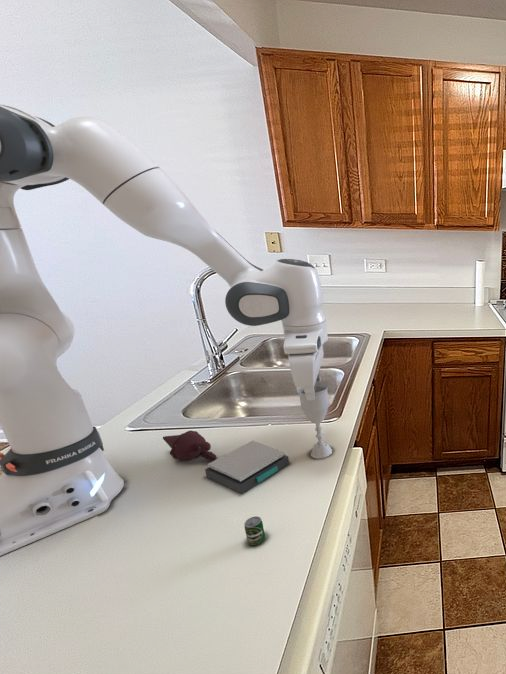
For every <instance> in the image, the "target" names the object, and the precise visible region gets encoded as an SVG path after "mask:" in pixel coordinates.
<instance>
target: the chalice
mask: <svg viewBox="0 0 506 674" xmlns="http://www.w3.org/2000/svg"><path fill="white" fill-rule="evenodd" d="M295 388H296V387H295ZM329 388H330V383H329V382H327V381H322V380H320V381H316V382H315V386H314V390H315V394H316V397H315V400H310V401H308V400H307V399H306V394H305V392H304V390H303V389H297V388H296V390H295V391H296V392H297V394H298V395H299V401H300V409H301V410H302V412H303V414H304V415H305V417H306V418H307V419H308V420H309V422H310V423H311V424H314V425H315V429H314V431H315V432H316V435H315V438H316V439H317V442H315V444H314V445H313V446H312V449H311V453H310V456H311V458H313V459H316V460H317V459H324V458H327V457H329V456H330V455H332V453H333V449H332V448H331V446H330V445H329V443H327V442H326V441H323V437H324V434H323V433H322V430H323V427H322V426H321V423H322V422H324V420H325V418H326V415H327V413H328V410H329V407H330V406H329V405H330V401H329V393H328V392H329V391H328V389H329Z"/></svg>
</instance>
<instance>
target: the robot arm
mask: <svg viewBox="0 0 506 674" xmlns="http://www.w3.org/2000/svg"><path fill="white" fill-rule="evenodd" d="M69 180H71V181H73V182H75V183H76V184H78V185H80V186H81V187H82V188H84V189H85V190H86V191H87V192H88V193H90V194H91V196H93V197H94V198H95V199H96V200H97V201H98V202H100V203H101V204H102V205H103V207H105V208H106V209H108V210H109V211H110V212H111V213H112V214H113V215H114V216H116V217H117V218H118V219H119V220H121V221H122V222H123V223H125V224H126V225H128V226H129V227H131V228H132V229H134V230H135V231H137V232H139V233H140V234H142V235H143V236H145V237H148V238H152V239H156V240H159V241H163V242H167V243H170V244H173V245H176V246H179V247H181V248H183V249H185V250H187V251H189V252H190V253H192V254H193V255H195V257H197V258H198V259H200V260H201V261H202V262H203V263H204V264H206V266H208V267H209V268H210V269H211V270H213V271H214V272H215V273H216V274H217V275H218V276H219V277H220V278H222V279H223V280H224V281H225V282H226V283H227V285H228V286H229V289H228V291H227V293H226V295H225V300H224V302H225V303H224V304H225V307H226V311H227V312H228V314H229V315H230V316H231V318H232V319H234V320H235V321H236V322H238V323H240V324H242V325H245V326H249V327H257V326H263V325H269V324H271V323H272V324H273V323H275V322H279V321H281V324H282V331H283V353H284V355H288V364H289V369H290V373H291V377H292V381H293V384H294V386H295V388H297V389H303V390H304V392H305V394H306V399H307V400H308V401H310V400H315V397H316V394H315V390H314V386H315V382H316V381H322V378H321V367H322V363H323V359H324V355H325V354H324V353H325V352H324V344H325V343H327V341H328V340H329V337H328V328H327V327H328V326H327V319H326V316H325V313H324V310H323V305H324V304H323V303H324V295H323V290H322V283H321V279H320V275H319V272H318V269H317V268H316V267H315V266H314V265H313V264H312V263H310V262H308V261H304V260H301V259H294V258H280V259H277V260H276V261H275V262H274V263H273V264H271V265H269V266H268V267H266V268H265V269H263V268H261V267H259V266H257V265H254V264H252V263H251V262H250V261H249V260H248V259H246V258H245V257H244V256H243V255H242V254H241V253H240V252H239V251H237V249H235V248H234V247H233V246H232V245H231V244H230V243H229V242H228V241H227V240H226V239H225V238H223V236H221V235H220V233H218V232H217V231H216V230H215V229H214V228H213V227H212V226H211V224H210V223H209V222H208V220H206V218H205V217H204V216H203V215H202V214H201V212H200V211H199V210H198V209H197V208H196V206H194V204H193V203H192V201H191V200H190V199H189V198H188V196H187V195H186V194H185V193H184V192H183V190H182V189H181V188H180V187H179V186H178V185H177V184H176V183H175V181H174V180H173V179H172V178H171V177H170V176H169V175H168V174H167V173H166V172H165V170H163V169H162V168H161V167H160V166H159V165H158V164H157V163H156V162H155V161H154V160H153V159H152V158H151V157H150V156H148V154H146V153H145V152H144V151H143V150H142V149H140V148H139V146H137V145H136V144H134V143H133V142H132V140H130V139H129V138H128V137H126V136H125V135H124V134H122V133H121V132H119V131H118V130H117V129H115V128H114V127H113V126H111V124H109V123H107V122H106V121H104V120H101V119H99V118H96V117H92V116H77V117H71V118H69V119H67V120H65V121H63V122H61V123H60V124H57V125H54V124H52V123H51V122H49V121H48V120H46V119H43V118H41V117H39V116H35V115H33V114H31V113H29V112H26V111H23V110H22V109H19V108H16V107H13V106H9V105H5V104H0V428H1V430H2V432H3V435H4V436H5V439H6V441H7V443H8V445H9V447H10V449H9V450H8V451H7V452H6V453H5V454H4V453H3V452H0V469H1V471H2V473H1V474H0V557H1V556H3V555H6V554H9V553H10V552H12V551H15V550H18V549H20V548H23V547H24V546H25V547H26V546H27V545H29V544H32V543H34V542H36V541H39V540H41V539H44V538H46V537H48V536H51V535H53V534H55V533H58V532H61V531H62V530H65V529H67V528H70V527H72V526H74V525H77V524H80V523H82V522H84V521H86V520H88V519H90V518H93V517H96V516H98V515H100V514H103V513H105V512H106V511H107V510H108V509H109V507H110V505H111V503H112V501H113V500H114V499H115V498H116V497H117V496H118V495H119V494H120V492H122V490H123V489H124V487H125V480H124V479H123V478H122V477H121V476H120V475H119V474H118V473H117V471H116V470H115V469H114V468H113V466H112V464H111V463H110V461H109V460H108V458H107V456H106V454H105V452H104V451H105V448H104V443H103V440H102V437H101V434H100V432H99V431H98V429H97V427H96V426H93V423H92V421H91V418H90V416H89V412H88V410H87V407H86V405H85V402H84V398H83V396H82V393H80V392H79V391H78V390H77V389H74V388H72V387H71V385H70V384H69V383H68V382H67V381H66V379H64V377H63V375H62V374H61V372H60V371H59V369H58V368H59V367H58V365H57V364H58V363H57V360H58V358H60V357H62V355H63V354H65V353H66V352H67V351H68V350H69V349H70V347H71V345H72V343H73V340H74V337H75V325H74V323H73V321H72V320H71V318H70V317H69V316H68V315H67V314H66V313H65V312H63V311H62V310H61V309H60V307H59V305H58V304H57V302H56V300H55V299H54V297H53V296H52V294H51V293H50V291H49V289H48V288H47V286H46V284H45V283H44V281H43V279H42V278H41V275H40V274H39V271H38V269H37V267H36V264H35V260H34V258H33V255H32V253H31V250H30V247H29V245H28V241H27V239H26V236H25V233H24V230H23V228H22V224H21V222H20V219H19V217H18V213H17V212H16V207H15V202H14V199H15V195H16V193H17V192H18V191H19V190H20V189H21V190H23V191H32V190H36V189H40V188H45V187H49V186H54V185H59V184H62V183H64V182H67V181H69Z"/></svg>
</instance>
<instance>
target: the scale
mask: <svg viewBox="0 0 506 674" xmlns="http://www.w3.org/2000/svg"><path fill="white" fill-rule="evenodd" d="M289 465H290V459H289V455H286V454H284V456H283V457H281V458H279V459H278V460H276V461H274V462H273V463H271V464H269V465H268V466H266V467H264V468H263V469H261V470H259V471H258V472H256V473H254V474H253V475H251V476H249V477H248V478H246V479H244V480H243V481H241V482H240V481H238V480H236V479H233V478H231V477H229V476H227V475H225V474H222V473H220V472H218V471H216V470H213V469H211V468H209V467H208V466H207V467H206V468H205V469H204V471H205V475H206V478H208V479H209V480H211V481H214V482H216V483H218V484H220V485H222V486H224V487H226V488H229V489H231V490H233V491H235V492H237V493H239V494H244V493H246V492H248V491H249V490H251V489H252V488H254V487H256V486H258V484H260V483H262V482H263V481H265V480H266V479H268V478H270V477H271V476H273V475H275V474H276V473H277V472H280V471H281V470H283V469H284V468H286V467H287V466H289Z"/></svg>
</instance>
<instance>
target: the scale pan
mask: <svg viewBox="0 0 506 674" xmlns="http://www.w3.org/2000/svg"><path fill="white" fill-rule="evenodd" d="M284 455H285V452H284V451H282V450H279V449H276V448H273V447H271V446H269V445H266V444H263V443H260V442H257V441H256V440H251V441H249V442H247V443H245V444H244V445H241V446H239V447H237V448H236V449H233V450H232V451H230V452H228V453H226V454H224V455H222V456H220V457H218V458H216V460H214V461H210V462H209V463H207V468H208V467H209V468H211V469H213V470H216V471H218V472H220V473H222V474H225V475H227V476H229V477H231V478H233V479H236V480H238V481H240V482H241V481H243V480H244V479H246V478H248V477H249V476H251V475H253V474H254V473H256V472H258V471H259V470H261V469H263V468H264V467H266V466H268V465H269V464H271V463H273V462H274V461H276V460H278V459H279V458H281V457H283V456H284Z"/></svg>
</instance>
